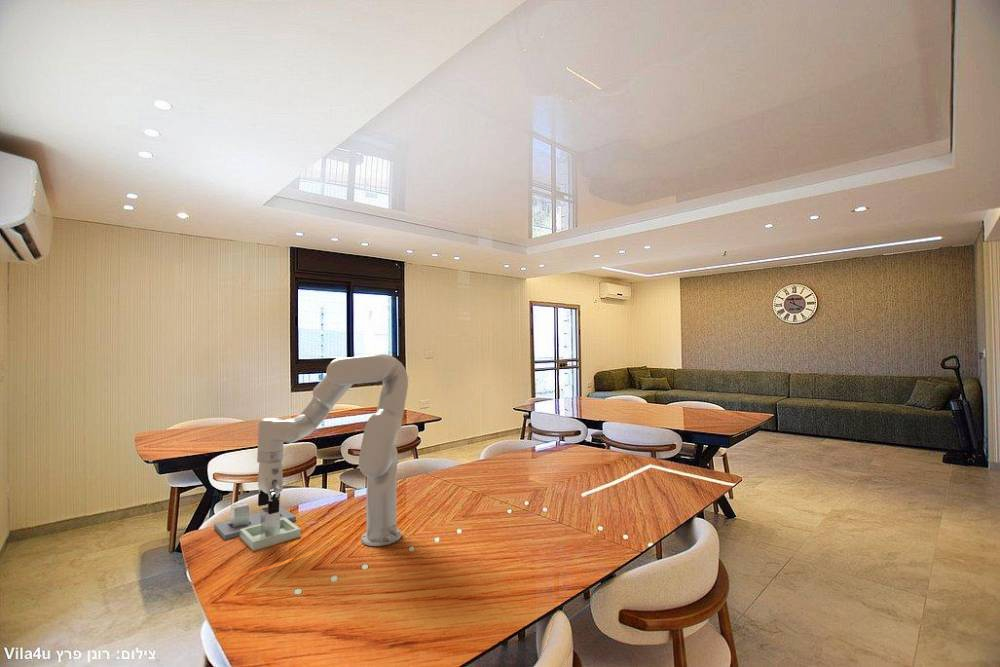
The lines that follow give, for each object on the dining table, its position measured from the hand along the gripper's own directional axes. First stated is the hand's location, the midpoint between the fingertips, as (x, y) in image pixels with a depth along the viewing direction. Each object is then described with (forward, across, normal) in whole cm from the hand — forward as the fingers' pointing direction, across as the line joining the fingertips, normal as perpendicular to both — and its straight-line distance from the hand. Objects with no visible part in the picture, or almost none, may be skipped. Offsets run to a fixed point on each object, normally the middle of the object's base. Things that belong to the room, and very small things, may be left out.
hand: (268, 508), depth 143 cm
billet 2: (+9, -1, -1) cm, 9 cm away
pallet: (+10, +14, -1) cm, 18 cm away
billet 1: (+10, +14, +4) cm, 18 cm away
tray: (+10, -1, -1) cm, 10 cm away
